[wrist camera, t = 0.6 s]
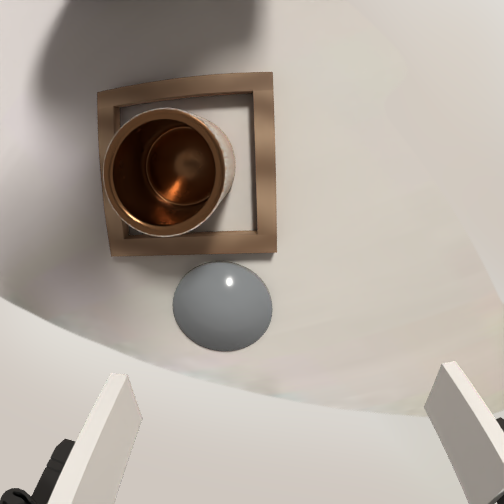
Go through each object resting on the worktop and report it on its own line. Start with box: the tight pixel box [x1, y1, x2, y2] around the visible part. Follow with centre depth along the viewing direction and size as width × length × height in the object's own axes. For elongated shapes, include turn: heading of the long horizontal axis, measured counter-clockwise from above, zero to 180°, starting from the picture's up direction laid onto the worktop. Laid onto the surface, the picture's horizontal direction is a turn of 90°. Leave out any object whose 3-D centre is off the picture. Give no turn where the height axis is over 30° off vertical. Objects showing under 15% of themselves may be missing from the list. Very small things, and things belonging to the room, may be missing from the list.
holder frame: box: [97, 72, 277, 257], centre depth 32 cm, size 19×19×2 cm
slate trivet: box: [173, 261, 272, 351], centre depth 38 cm, size 12×12×1 cm
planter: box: [103, 108, 235, 237], centre depth 29 cm, size 11×11×10 cm
